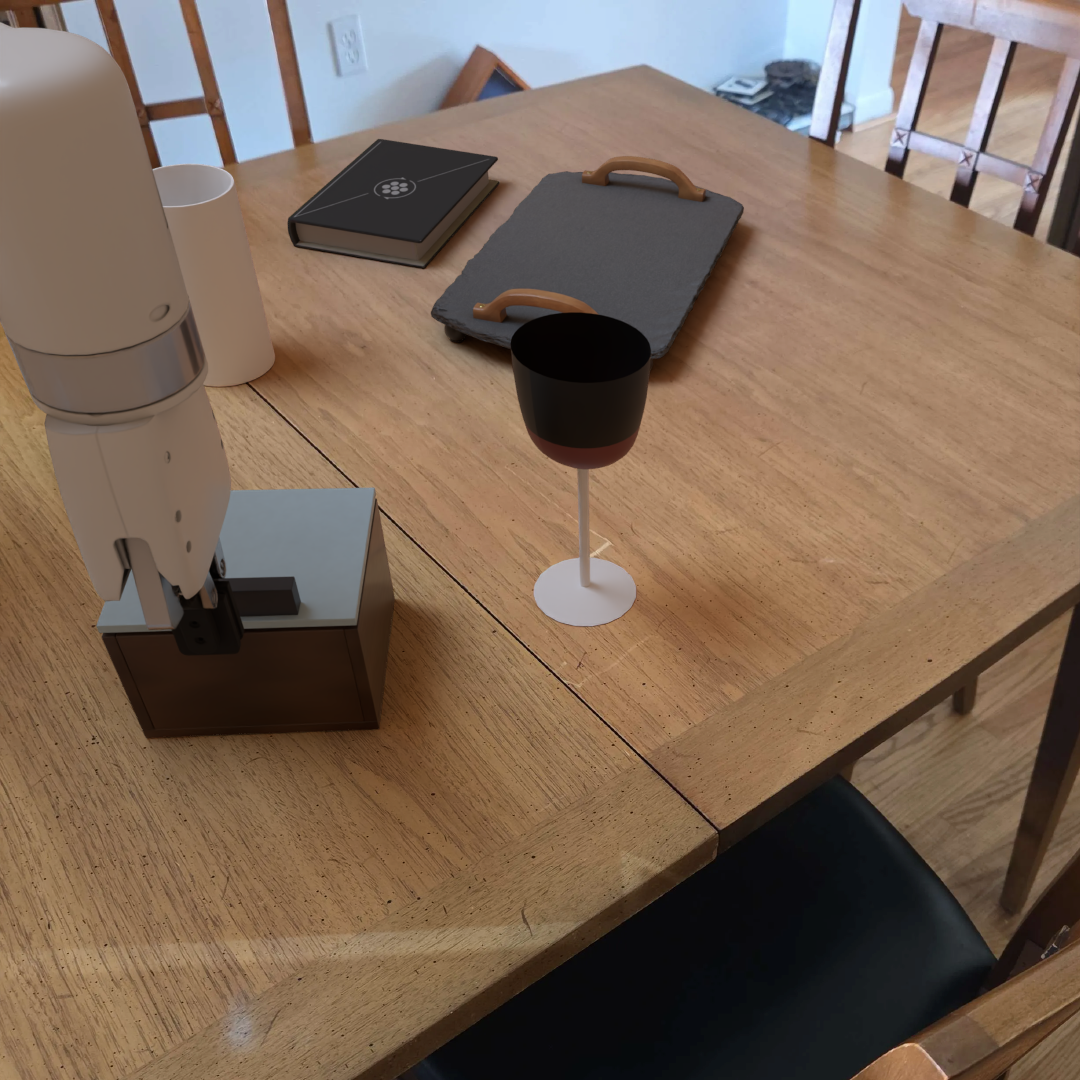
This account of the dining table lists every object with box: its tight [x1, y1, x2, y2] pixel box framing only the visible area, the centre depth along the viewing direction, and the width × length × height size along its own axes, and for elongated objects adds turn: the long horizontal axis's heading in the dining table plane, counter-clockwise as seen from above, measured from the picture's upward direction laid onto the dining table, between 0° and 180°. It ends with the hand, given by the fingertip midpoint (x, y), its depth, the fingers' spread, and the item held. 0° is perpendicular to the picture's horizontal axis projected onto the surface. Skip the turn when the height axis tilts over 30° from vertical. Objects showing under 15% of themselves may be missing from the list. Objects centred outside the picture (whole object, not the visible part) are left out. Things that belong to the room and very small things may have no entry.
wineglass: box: [510, 312, 651, 627], centre depth 78 cm, size 8×9×20 cm
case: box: [101, 497, 396, 739], centre depth 75 cm, size 15×13×9 cm
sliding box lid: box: [96, 486, 377, 634], centre depth 71 cm, size 15×13×3 cm
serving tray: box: [430, 155, 745, 371], centre depth 115 cm, size 39×23×6 cm, turn 164°
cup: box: [152, 163, 276, 388], centre depth 98 cm, size 8×8×16 cm
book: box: [287, 138, 500, 269], centre depth 125 cm, size 22×15×3 cm
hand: (213, 644), depth 64 cm, fingers closed
